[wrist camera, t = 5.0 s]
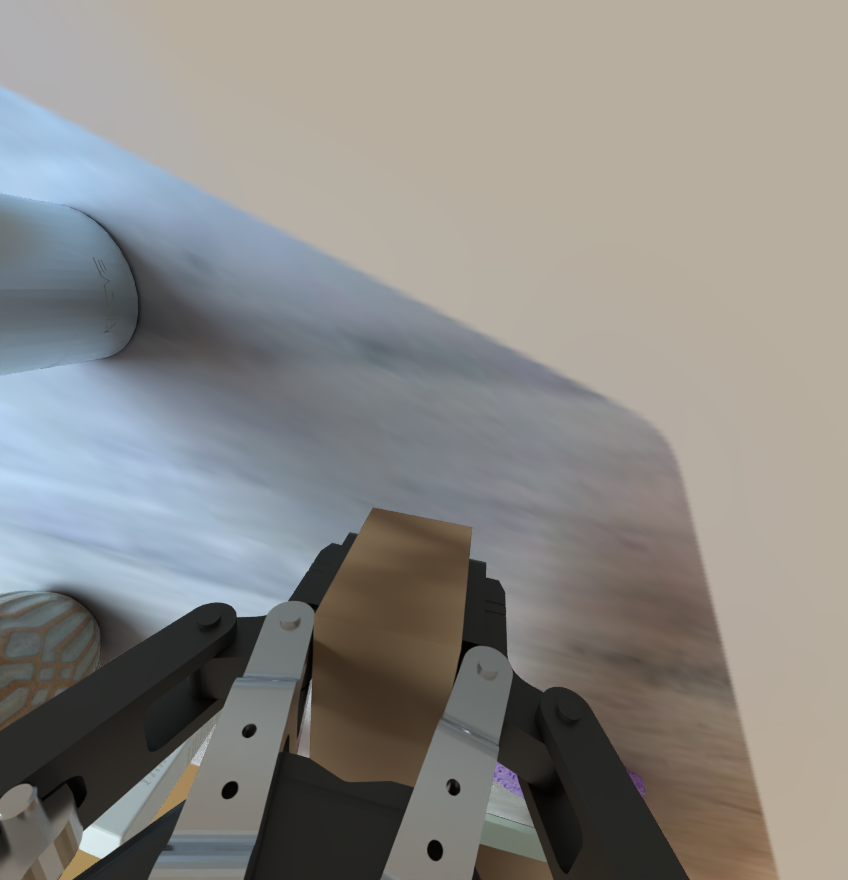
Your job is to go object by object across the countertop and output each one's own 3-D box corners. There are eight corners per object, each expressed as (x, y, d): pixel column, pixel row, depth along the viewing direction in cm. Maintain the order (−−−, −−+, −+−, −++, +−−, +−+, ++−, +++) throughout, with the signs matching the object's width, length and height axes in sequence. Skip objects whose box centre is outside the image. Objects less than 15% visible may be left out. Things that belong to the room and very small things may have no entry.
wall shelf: (443, 813, 38) (425, 960, 30) (475, 696, 32) (465, 839, 24) (608, 865, 36) (638, 1038, 28) (675, 752, 30) (739, 928, 22)
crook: (343, 827, 22) (302, 974, 17) (372, 507, 14) (314, 614, 10) (602, 901, 20) (633, 1083, 16) (786, 590, 13) (951, 763, 8)
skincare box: (174, 678, 38) (41, 834, 27) (176, 647, 37) (36, 801, 26) (232, 702, 38) (121, 871, 27) (237, 672, 36) (121, 839, 25)
